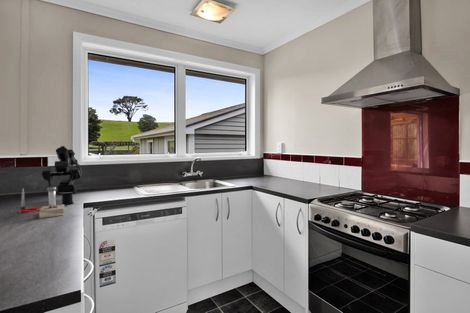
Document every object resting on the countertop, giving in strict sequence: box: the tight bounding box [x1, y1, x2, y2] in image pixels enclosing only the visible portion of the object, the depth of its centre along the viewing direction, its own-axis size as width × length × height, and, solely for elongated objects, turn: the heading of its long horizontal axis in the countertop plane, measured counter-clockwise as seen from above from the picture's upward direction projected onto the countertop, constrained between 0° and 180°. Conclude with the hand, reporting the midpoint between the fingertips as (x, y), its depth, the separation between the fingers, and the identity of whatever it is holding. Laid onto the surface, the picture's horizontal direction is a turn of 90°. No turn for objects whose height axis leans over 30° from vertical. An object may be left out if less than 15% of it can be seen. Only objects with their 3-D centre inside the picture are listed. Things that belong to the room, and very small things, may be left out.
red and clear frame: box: [17, 188, 41, 214], centre depth 143 cm, size 8×13×9 cm
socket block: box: [38, 204, 65, 219], centre depth 135 cm, size 12×10×4 cm
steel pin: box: [46, 186, 57, 209], centre depth 135 cm, size 4×4×14 cm
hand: (59, 185), depth 146 cm, fingers open, 9 cm apart
